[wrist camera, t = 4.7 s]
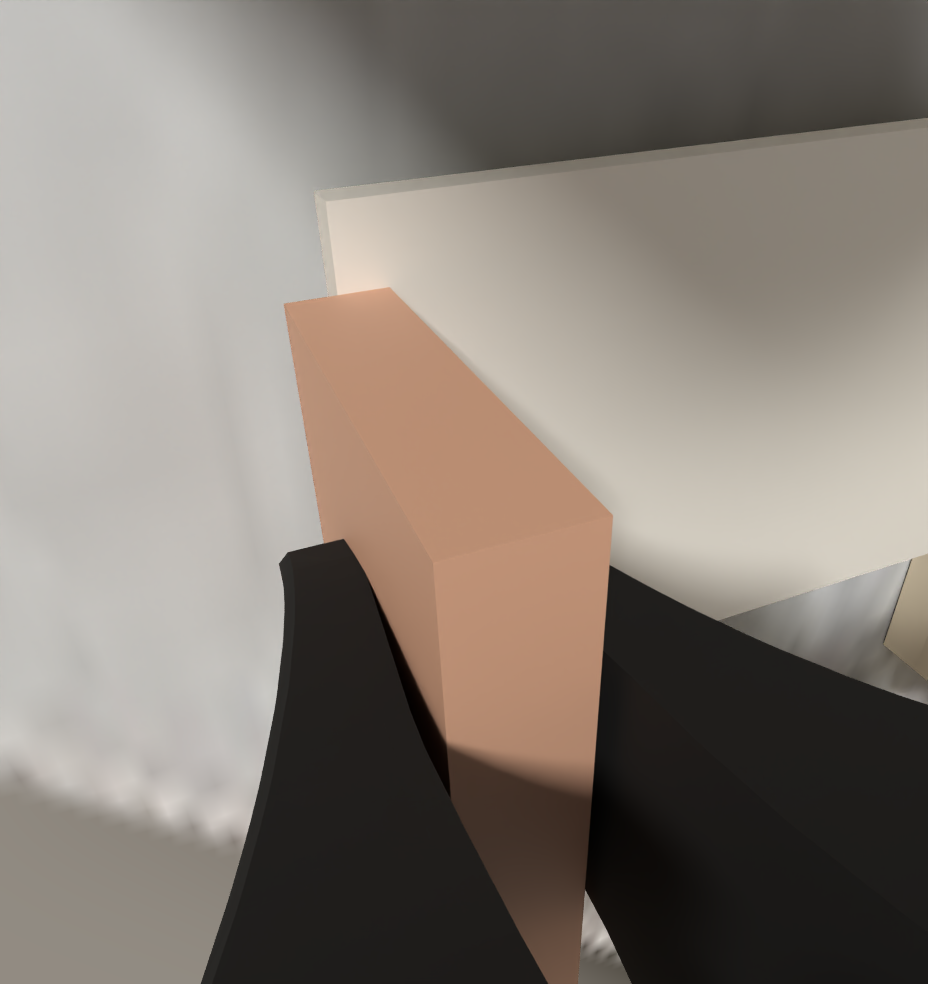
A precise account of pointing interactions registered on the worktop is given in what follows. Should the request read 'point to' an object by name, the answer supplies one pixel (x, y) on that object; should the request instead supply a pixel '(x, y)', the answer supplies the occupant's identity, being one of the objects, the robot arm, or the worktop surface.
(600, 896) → the robot arm
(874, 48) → the worktop surface
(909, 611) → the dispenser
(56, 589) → the worktop surface
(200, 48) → the worktop surface
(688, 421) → the beige angled piece
